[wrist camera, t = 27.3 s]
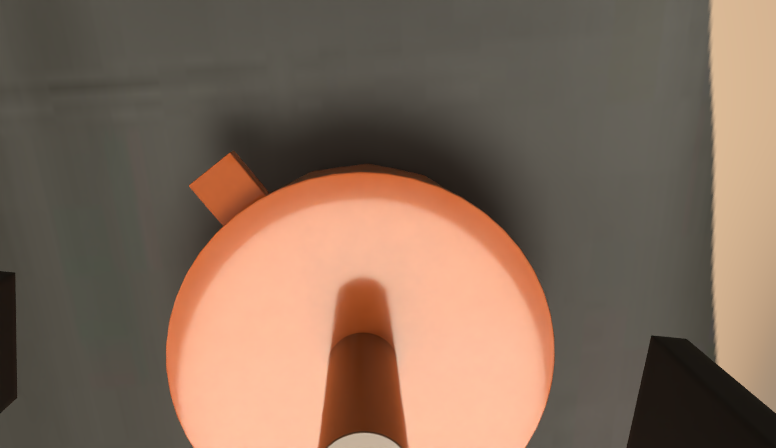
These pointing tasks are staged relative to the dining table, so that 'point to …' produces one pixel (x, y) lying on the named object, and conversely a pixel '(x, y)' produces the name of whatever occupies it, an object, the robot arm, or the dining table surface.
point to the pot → (253, 184)
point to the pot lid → (360, 323)
